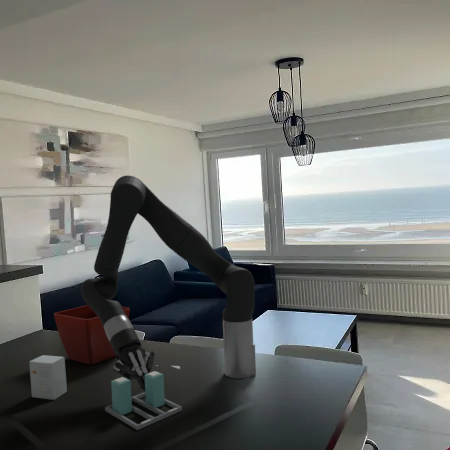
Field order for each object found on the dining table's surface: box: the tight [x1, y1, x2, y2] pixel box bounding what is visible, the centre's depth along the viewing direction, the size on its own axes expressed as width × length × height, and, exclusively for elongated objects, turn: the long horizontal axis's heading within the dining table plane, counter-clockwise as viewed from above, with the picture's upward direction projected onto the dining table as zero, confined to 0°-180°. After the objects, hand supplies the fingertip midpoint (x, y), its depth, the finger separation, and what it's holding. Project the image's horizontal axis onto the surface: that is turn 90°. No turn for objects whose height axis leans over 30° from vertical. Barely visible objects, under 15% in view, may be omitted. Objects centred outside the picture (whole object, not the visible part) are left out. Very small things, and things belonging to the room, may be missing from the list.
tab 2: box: [145, 370, 166, 408], centre depth 118 cm, size 4×4×8 cm
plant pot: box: [53, 304, 131, 366], centre depth 161 cm, size 19×19×17 cm
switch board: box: [104, 391, 183, 431], centre depth 116 cm, size 15×14×2 cm
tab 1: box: [110, 376, 133, 416], centre depth 115 cm, size 4×4×8 cm
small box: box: [29, 354, 68, 401], centre depth 130 cm, size 8×6×10 cm
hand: (148, 389), depth 120 cm, fingers closed
